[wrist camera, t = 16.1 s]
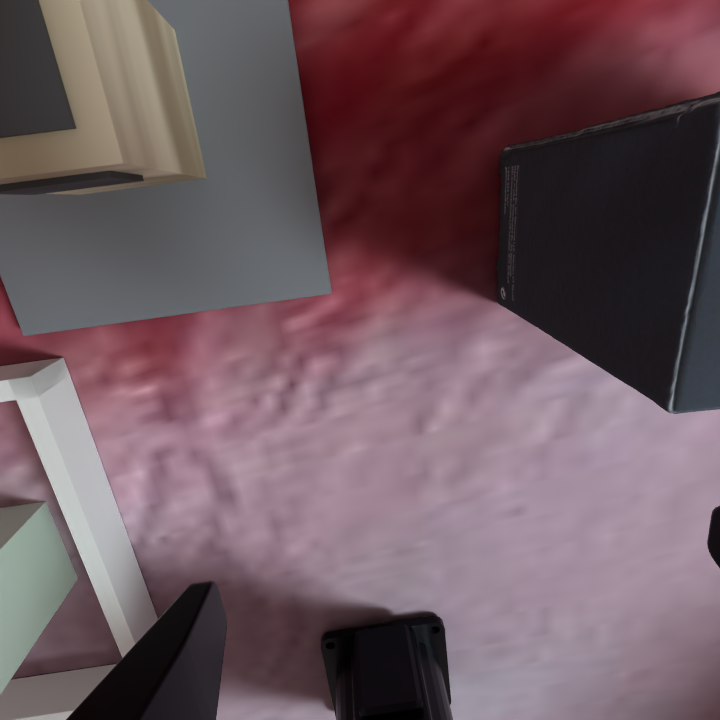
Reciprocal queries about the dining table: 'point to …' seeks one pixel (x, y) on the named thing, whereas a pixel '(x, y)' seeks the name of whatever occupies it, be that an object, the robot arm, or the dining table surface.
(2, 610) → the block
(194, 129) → the labelled block
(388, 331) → the dining table surface
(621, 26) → the dining table surface
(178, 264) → the mat
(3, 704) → the white square frame
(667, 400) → the small box
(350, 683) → the robot arm
